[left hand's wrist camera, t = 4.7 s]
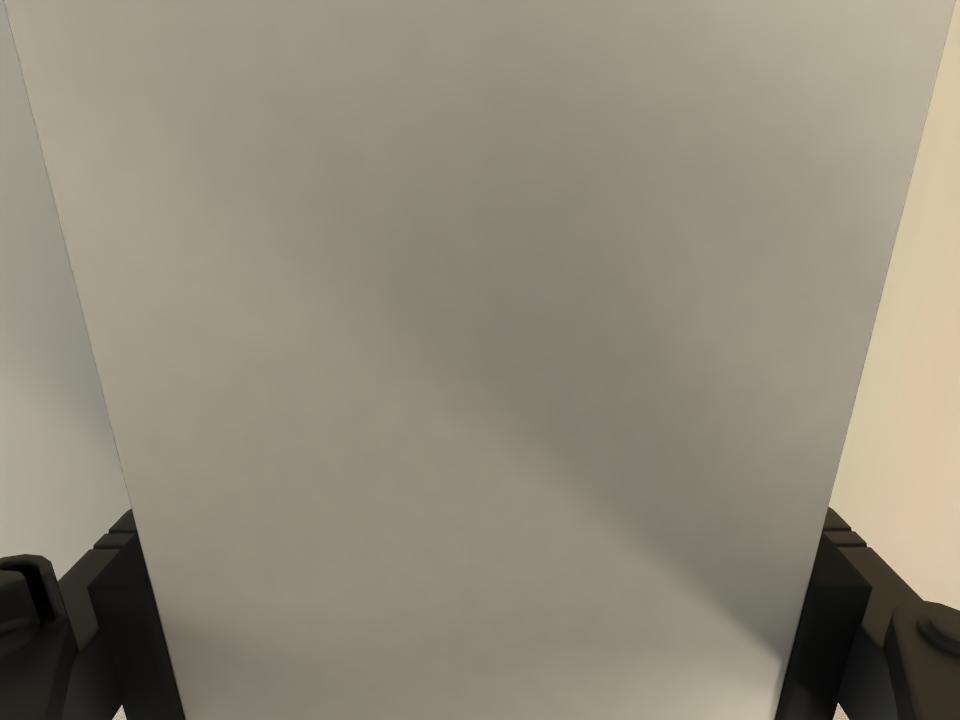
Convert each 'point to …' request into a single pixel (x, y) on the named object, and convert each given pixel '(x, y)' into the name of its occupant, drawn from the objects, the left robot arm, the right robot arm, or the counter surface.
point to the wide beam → (479, 331)
